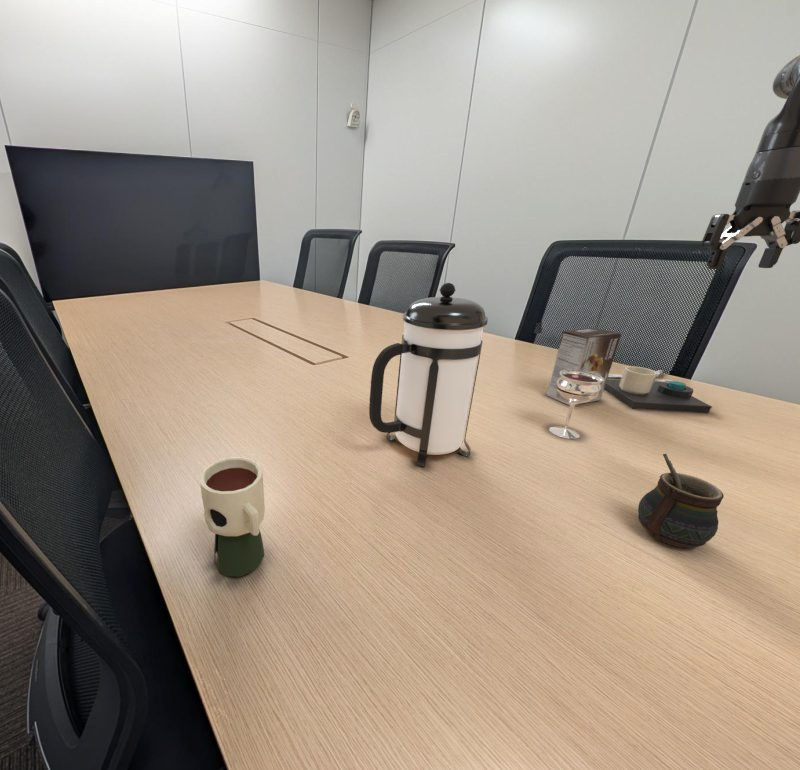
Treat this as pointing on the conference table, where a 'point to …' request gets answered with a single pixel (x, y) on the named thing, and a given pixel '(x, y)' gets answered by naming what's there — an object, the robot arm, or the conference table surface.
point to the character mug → (234, 512)
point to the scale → (659, 398)
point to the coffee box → (584, 356)
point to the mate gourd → (681, 509)
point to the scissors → (654, 381)
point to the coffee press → (432, 374)
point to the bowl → (637, 380)
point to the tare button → (677, 385)
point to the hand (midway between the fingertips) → (738, 268)
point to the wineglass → (576, 395)
